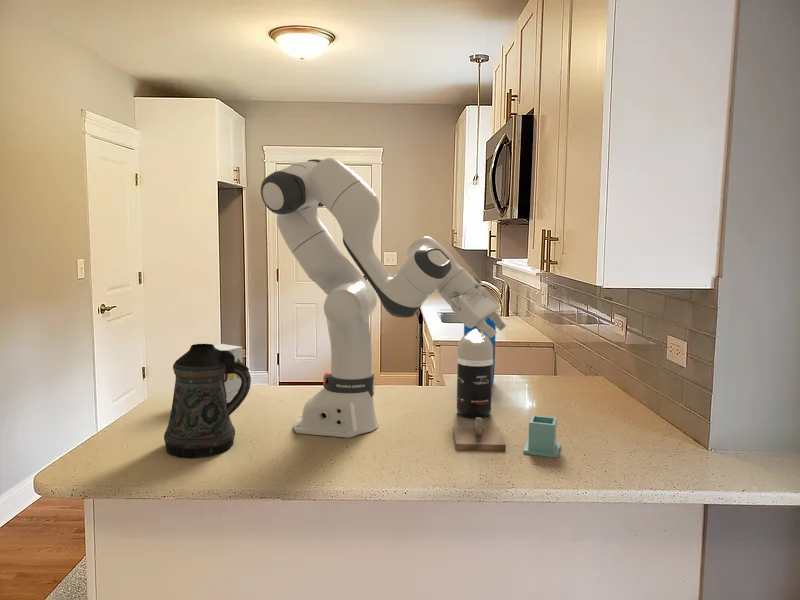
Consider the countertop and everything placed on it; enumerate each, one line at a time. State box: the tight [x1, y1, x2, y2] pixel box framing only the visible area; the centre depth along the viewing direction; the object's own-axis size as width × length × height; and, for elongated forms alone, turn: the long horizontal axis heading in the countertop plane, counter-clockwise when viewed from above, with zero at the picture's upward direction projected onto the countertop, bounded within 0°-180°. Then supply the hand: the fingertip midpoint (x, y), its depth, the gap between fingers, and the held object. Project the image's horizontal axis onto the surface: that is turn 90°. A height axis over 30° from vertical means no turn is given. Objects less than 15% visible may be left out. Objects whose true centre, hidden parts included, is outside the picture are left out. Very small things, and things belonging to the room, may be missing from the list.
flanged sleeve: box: [522, 414, 561, 459], centre depth 148 cm, size 8×8×8 cm
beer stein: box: [163, 343, 252, 459], centre depth 148 cm, size 16×19×25 cm
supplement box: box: [214, 343, 243, 403], centre depth 185 cm, size 10×9×17 cm
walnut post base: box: [452, 417, 507, 452], centre depth 153 cm, size 12×12×6 cm
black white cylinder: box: [456, 328, 493, 419], centre depth 175 cm, size 10×10×25 cm
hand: (499, 332), depth 148 cm, fingers open, 8 cm apart
